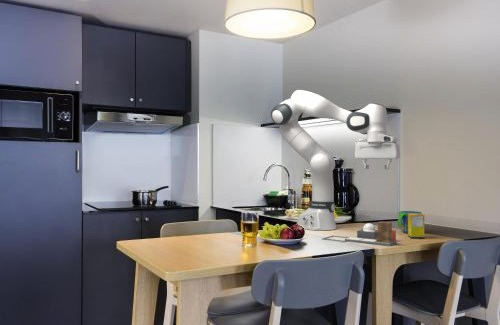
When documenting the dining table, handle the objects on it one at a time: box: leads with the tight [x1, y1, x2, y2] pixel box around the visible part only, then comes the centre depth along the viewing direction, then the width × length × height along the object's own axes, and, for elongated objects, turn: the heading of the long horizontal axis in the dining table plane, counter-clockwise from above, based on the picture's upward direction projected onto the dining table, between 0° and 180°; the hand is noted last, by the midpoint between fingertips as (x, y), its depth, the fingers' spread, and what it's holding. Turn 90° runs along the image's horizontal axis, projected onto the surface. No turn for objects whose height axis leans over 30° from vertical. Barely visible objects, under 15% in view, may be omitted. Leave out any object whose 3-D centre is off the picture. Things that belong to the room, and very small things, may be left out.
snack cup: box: [397, 210, 423, 234], centre depth 223 cm, size 16×10×10 cm
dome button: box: [362, 222, 376, 232], centre depth 203 cm, size 5×5×6 cm
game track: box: [344, 236, 397, 247], centre depth 193 cm, size 20×8×1 cm, turn 54°
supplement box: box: [407, 212, 425, 240], centre depth 207 cm, size 6×6×11 cm
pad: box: [321, 235, 351, 243], centre depth 201 cm, size 11×11×1 cm
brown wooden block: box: [376, 221, 393, 243], centre depth 189 cm, size 5×5×8 cm
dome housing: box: [356, 228, 378, 240], centre depth 203 cm, size 8×8×4 cm
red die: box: [392, 229, 397, 242], centre depth 198 cm, size 4×4×5 cm
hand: (376, 169), depth 208 cm, fingers open, 8 cm apart
